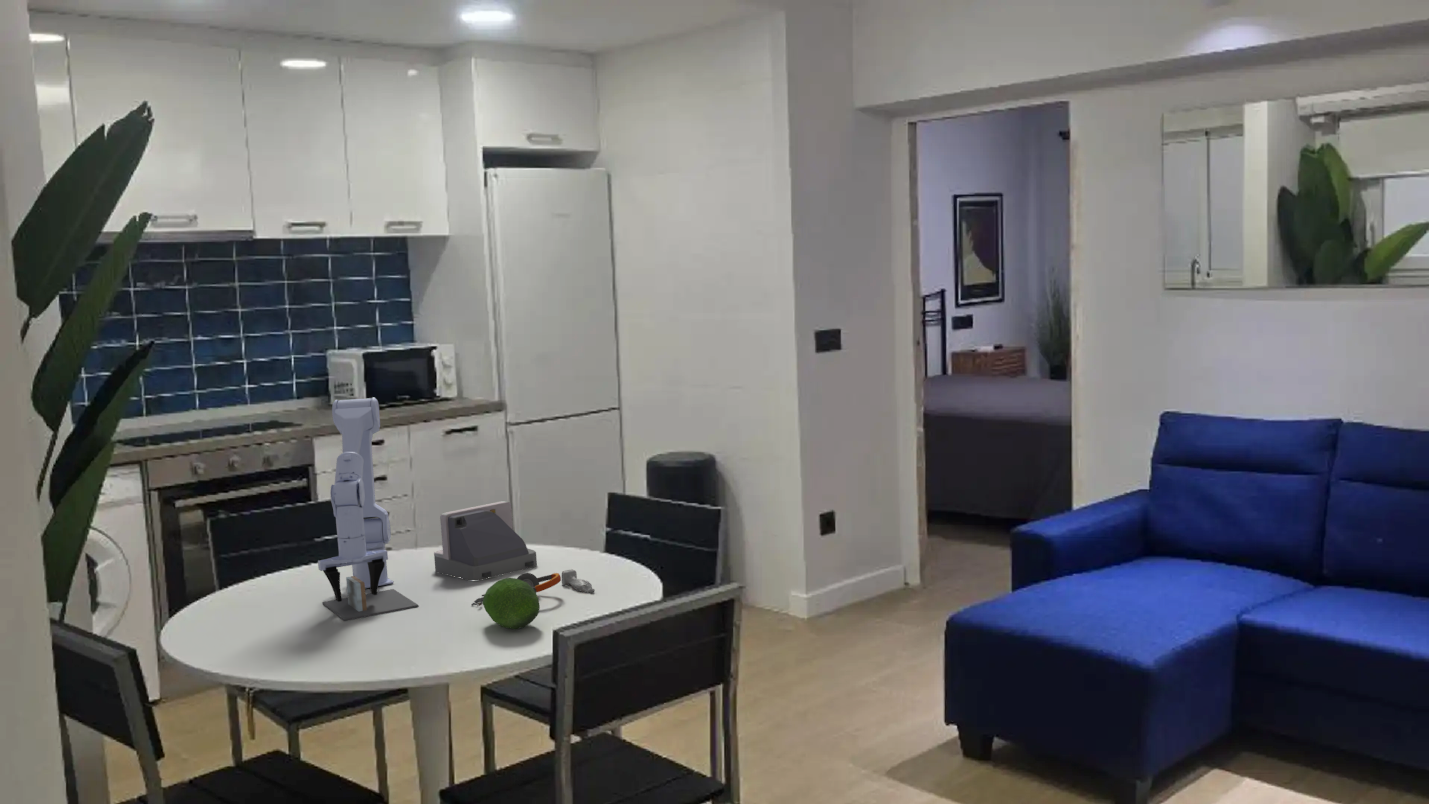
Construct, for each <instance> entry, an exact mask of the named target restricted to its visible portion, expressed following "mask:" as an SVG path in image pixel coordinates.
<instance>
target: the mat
mask: <svg viewBox="0 0 1429 804" xmlns="http://www.w3.org/2000/svg"><path fill="white" fill-rule="evenodd" d="M365 594H366V606H367V610H364V611H359V612H358V611H357V610H356V609H354V608H353V607H352V606H350V605H349V604H348V596H347V597H341V598H342V601H340V602H338V601H337V600H336V598H334V599H331V600H325V601H322V604H323V605H324V606H325V607H326V608H327V609H329V610H330V611H331V612H332V613H334V614H335V615H336V616H338V617H339V618H340V619H341V620H342V621H344V622H346V621H351V620H355V619H360V618H361V619H362V618H366V617H372V616H378V615H383V614H387V613H388V614H389V613H392V612H397V611H398V610H399V611H403V610H402V609H404V610H408V609H413V607H414V608H418V607H419V604H418V603H416V602H415V601H413V600H411V599H410V598H408V597H407V596H405V595H403V594H402V593H401V592H399V591H397V590H396V589H394V588H390V589H385V590H380V591H379V590H378V591H377V595H373V594H371V592H369V593H365ZM417 606H418V607H417Z"/></svg>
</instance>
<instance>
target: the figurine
mask: <svg viewBox="0 0 1429 804" xmlns="http://www.w3.org/2000/svg"><path fill="white" fill-rule="evenodd" d="M577 575H578V574H577V571H576V570H574V569H572V568H571V569H566V570H563V571H561V585H563V586H565V585H568V586H571V587H572V588H573V589H576V591H578V592H580V593H581V592H582V593H586V594H594V593H595V588H593V586H592V583H591V582H590V581H588V580H585V579H581V578H578V576H577Z"/></svg>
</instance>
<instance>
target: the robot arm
mask: <svg viewBox="0 0 1429 804" xmlns="http://www.w3.org/2000/svg"><path fill="white" fill-rule="evenodd" d="M331 413H332V421H333V425H334V426H335V427H336V429H337V431H339V434H340V435H341V439H342V443H341V444H342V445H341V446H342V447H341V448H342V453H341V454H339V455H338V456H337V457H336V462H335V464H336V465H335V473H334V474H335V475H334V484H331V486H330V502H331V506H332V509H333V517H335V524H336V525H335V526H336V534H337V535H336V538H337V547H338V555H337V556H333V557H329V558H325V559H321V560H319V559H318V560H317V564H318V565H317V566H318V567H317V568H318V570H319V571H321V572H323V574H324V575H325V577H326V578H327V580H328V581H329V584H330V586H331V588H332V591H333V594H334V597H335V598H334V599H336V600H337V601H338V602H340V601H342V598H343V597H342V592H341V572H340V571H339V569H338V568H342V567H347V566H348V567H349V566H352V567H351V568H352V576H355V577H357V578H358V579H360V580H361V581H363V582H364V583H365V589H369V588H370V593H371V594H373V595H377V592H378V587H380V586H386V585H391V584H394V581H393V580H392V579H390V578H389V575H388V565H387V561H388V560H389V557H388V556H389V555H388V550H387V549H386V545H387V544H389V543H390V541H391V537H392V536H391V534H392V530H391V522H390V516H389V513H388V511H387V510H386V509H385V508H384V507H382V506H380V505H379V504H377V503H376V493H375V491H376V489H375V488H376V487H375V478H374V474H375V473H374V461H373V460H374V459H373V445H372V442H373V435H375V434H377V433H378V432H380V428H381V419H380V418H381V416H380V405H379V401H378V399H377V398H376V397H373V396H372V397H369V398H367V397H366V398H351V399H340V400H339V399H335V400H334V401H333V402H332V407H331Z"/></svg>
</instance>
